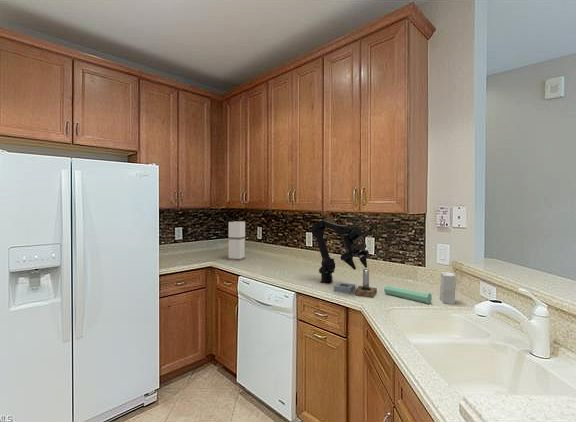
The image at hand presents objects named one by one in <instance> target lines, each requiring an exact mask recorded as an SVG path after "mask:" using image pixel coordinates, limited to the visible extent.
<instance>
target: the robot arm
mask: <svg viewBox="0 0 576 422" xmlns="http://www.w3.org/2000/svg"><path fill="white" fill-rule="evenodd" d="M326 229H330V230H332V231H334V232H335V233H336V234H337V235H339V236H341V237H340V238H339V239H340V240H339V241H340V242H343V244H344V246H345V248H344V249H345V252H344V253H343V254H341V255H340V257H339V258H340V260H341V261H343V263H344V262H345V263H346V264H347V265H349V266H350V268H351V269H353V270H355V271H356V270H357V267H356V265H355V262H354V257H355V258H356V257H358V260H359V261H360V263H361V264H362V265H363V267H364V269H367V268H368V263H367V262H368V261H367V257H368V256H369V254H370V251H369V250H367V249H366V248H367V244H366V242H361V243H360V244H358V243H357V242H356V243H355V241H357V240H358V239H359V238H361V237H362V236H363V233H364V232H363V230H362V229H360V228H359V227H358V226H357V225H354V226H352V228H351V227H350V225H346V224H337V223H336V222H333V221H329V220H327V219H321V220H320V221H318V222H316V223H315V224H313V225H312V226H311V228H310V232H311V234H312V236H313V237H314V238H315V239H316V242H317V246H318V249H319V252H320V256H321V263H320V265H321V267H320V268H319V269H318V272H319V274H321V276H320V278H321V279H320V280H321V281H320V283H321V284H327V285H329V284H331V283H333V280H334V279H333V278H334V277H333V273H335V268H336V263H335V260H334V258H332V257H330V254H329V250H328V247H327V244H326V240H325V237H324V235H325V230H326Z"/></svg>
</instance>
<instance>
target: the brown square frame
mask: <svg viewBox="0 0 576 422" xmlns="http://www.w3.org/2000/svg"><path fill="white" fill-rule="evenodd" d="M377 292H378V289H377V287H372V286H371V287H370V286H369V291H367V290H363V285H359V286H358V287H356V288H355V290H354V295H355V297H356V296H358V297H364V298H369V297H370V298H372V299H373V298H375V296H376V295H377Z"/></svg>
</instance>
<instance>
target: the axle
mask: <svg viewBox="0 0 576 422" xmlns="http://www.w3.org/2000/svg"><path fill="white" fill-rule="evenodd" d="M362 286H363V290H367V291H369V287H370V269H367V268H363V269H362Z"/></svg>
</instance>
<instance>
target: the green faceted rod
mask: <svg viewBox="0 0 576 422" xmlns="http://www.w3.org/2000/svg"><path fill="white" fill-rule="evenodd" d="M383 289H384V291H383V292H384V293H385V294H386V295H388V294H389V296H394V297H398V298H401V299H402V298H403V299H407V300H411V301H414V302H415V301H416V302H419V303H424V304H426V305H430V304H431V303H432V300H433V299H432V298H433V296H432V294H431V292H428V293H427V292H423V291H422V292H421V291H416V290H412V289H406V288H401V287H397V286H392V285H386V286H385V287H384V288H383ZM429 303H430V304H429Z"/></svg>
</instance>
